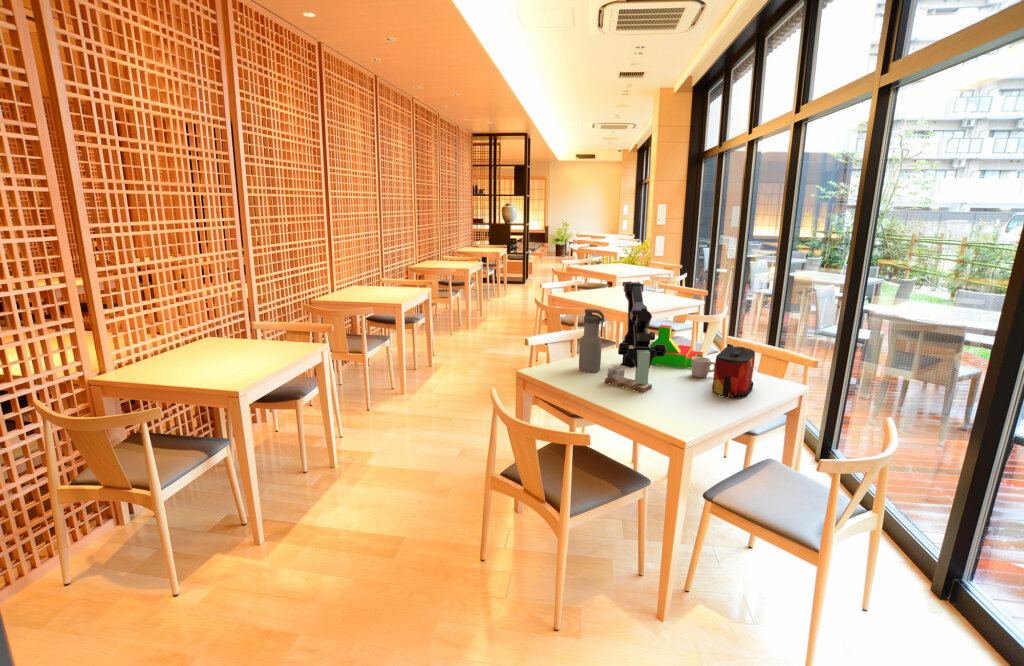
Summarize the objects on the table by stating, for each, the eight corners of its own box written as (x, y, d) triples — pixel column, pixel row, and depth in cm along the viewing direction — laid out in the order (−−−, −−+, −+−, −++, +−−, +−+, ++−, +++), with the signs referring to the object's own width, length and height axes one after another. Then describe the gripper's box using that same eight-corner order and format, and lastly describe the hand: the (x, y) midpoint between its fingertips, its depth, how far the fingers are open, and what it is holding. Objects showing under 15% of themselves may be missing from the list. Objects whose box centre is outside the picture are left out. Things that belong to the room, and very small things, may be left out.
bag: (724, 376, 234) (728, 340, 230) (758, 382, 227) (762, 345, 223) (706, 395, 210) (711, 355, 206) (743, 402, 202) (749, 361, 199)
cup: (712, 374, 237) (714, 357, 235) (717, 379, 229) (719, 362, 228) (688, 373, 238) (689, 356, 236) (692, 378, 230) (693, 361, 229)
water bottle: (600, 367, 244) (604, 308, 238) (601, 373, 235) (604, 312, 228) (578, 366, 246) (581, 307, 239) (578, 372, 236) (581, 311, 230)
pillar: (634, 380, 217) (637, 349, 214) (645, 380, 217) (648, 350, 214) (636, 383, 213) (638, 352, 210) (647, 384, 212) (650, 353, 209)
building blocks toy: (698, 370, 243) (702, 332, 239) (643, 363, 253) (646, 326, 249) (702, 360, 259) (706, 324, 255) (651, 354, 270) (654, 319, 266)
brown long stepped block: (604, 382, 223) (605, 369, 221) (613, 379, 228) (614, 365, 226) (643, 393, 211) (644, 378, 209) (651, 389, 216) (652, 375, 214)
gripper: (620, 323, 214) (621, 357, 206) (667, 325, 212) (670, 359, 204) (617, 337, 224) (618, 370, 215) (662, 339, 222) (665, 372, 214)
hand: (642, 367), depth 212 cm, fingers closed on pillar, 4 cm apart
